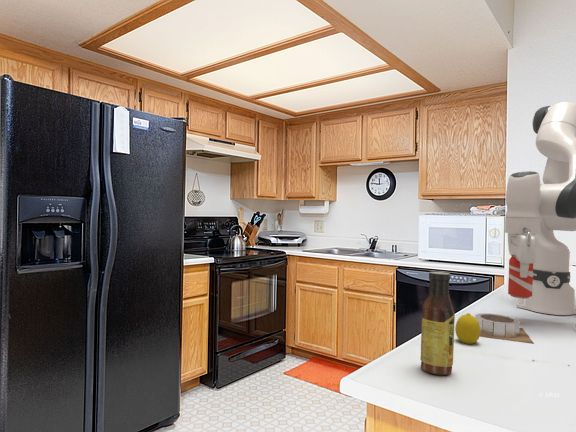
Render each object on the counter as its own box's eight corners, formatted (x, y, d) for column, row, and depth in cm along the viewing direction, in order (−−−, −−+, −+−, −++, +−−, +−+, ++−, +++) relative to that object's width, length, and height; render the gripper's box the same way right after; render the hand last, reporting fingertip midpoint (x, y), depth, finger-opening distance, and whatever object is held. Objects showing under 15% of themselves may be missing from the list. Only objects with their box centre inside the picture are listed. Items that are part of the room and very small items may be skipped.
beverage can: (536, 299, 115) (537, 257, 115) (511, 298, 116) (513, 256, 116) (527, 295, 121) (528, 254, 121) (504, 293, 122) (505, 254, 122)
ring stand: (464, 324, 119) (464, 320, 119) (522, 331, 114) (522, 328, 114) (467, 338, 105) (467, 334, 105) (534, 347, 100) (534, 343, 100)
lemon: (469, 351, 95) (470, 317, 95) (449, 343, 100) (451, 311, 100) (484, 348, 98) (486, 315, 98) (465, 341, 103) (466, 309, 103)
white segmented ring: (473, 323, 116) (474, 311, 116) (514, 329, 112) (515, 316, 112) (476, 333, 106) (477, 320, 106) (521, 339, 103) (522, 325, 103)
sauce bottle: (455, 378, 79) (460, 276, 79) (421, 374, 80) (426, 274, 80) (449, 366, 85) (453, 271, 85) (418, 362, 87) (422, 269, 86)
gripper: (543, 230, 107) (541, 282, 108) (527, 226, 126) (526, 270, 127) (516, 229, 109) (514, 280, 110) (504, 225, 128) (503, 268, 129)
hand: (520, 274), depth 118 cm, fingers closed on beverage can, 6 cm apart
